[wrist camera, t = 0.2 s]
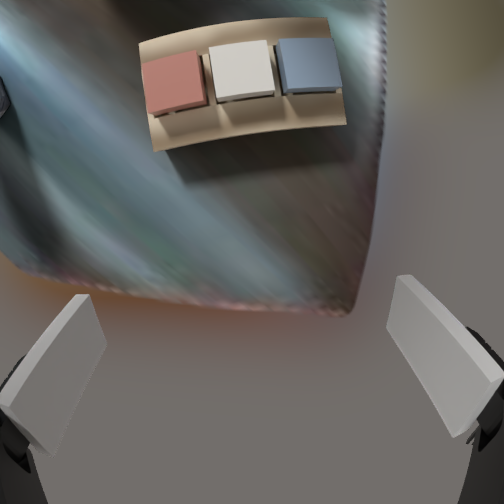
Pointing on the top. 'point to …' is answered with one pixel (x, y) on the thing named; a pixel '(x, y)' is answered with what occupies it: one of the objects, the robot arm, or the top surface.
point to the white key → (241, 70)
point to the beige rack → (244, 109)
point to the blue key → (308, 65)
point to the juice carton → (3, 100)
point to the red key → (173, 83)
